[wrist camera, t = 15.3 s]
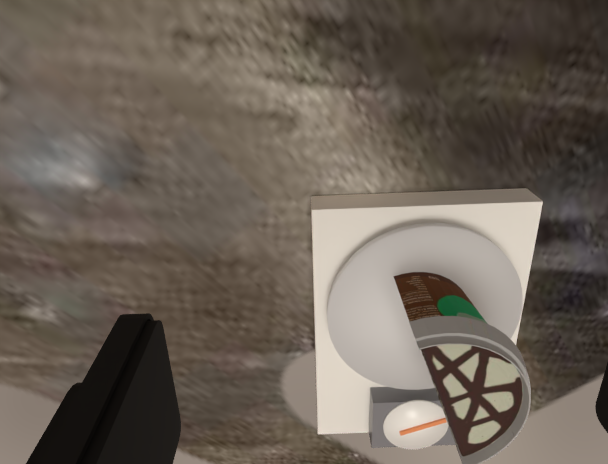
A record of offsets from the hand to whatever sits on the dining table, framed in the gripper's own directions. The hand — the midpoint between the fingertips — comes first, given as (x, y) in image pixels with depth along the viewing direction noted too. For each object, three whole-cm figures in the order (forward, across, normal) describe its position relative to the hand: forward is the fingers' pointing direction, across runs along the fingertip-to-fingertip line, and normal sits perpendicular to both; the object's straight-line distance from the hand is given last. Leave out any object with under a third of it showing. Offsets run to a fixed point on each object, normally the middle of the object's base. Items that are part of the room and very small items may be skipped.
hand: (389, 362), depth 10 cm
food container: (+26, -10, +16) cm, 32 cm away
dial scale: (+30, -8, +20) cm, 37 cm away
